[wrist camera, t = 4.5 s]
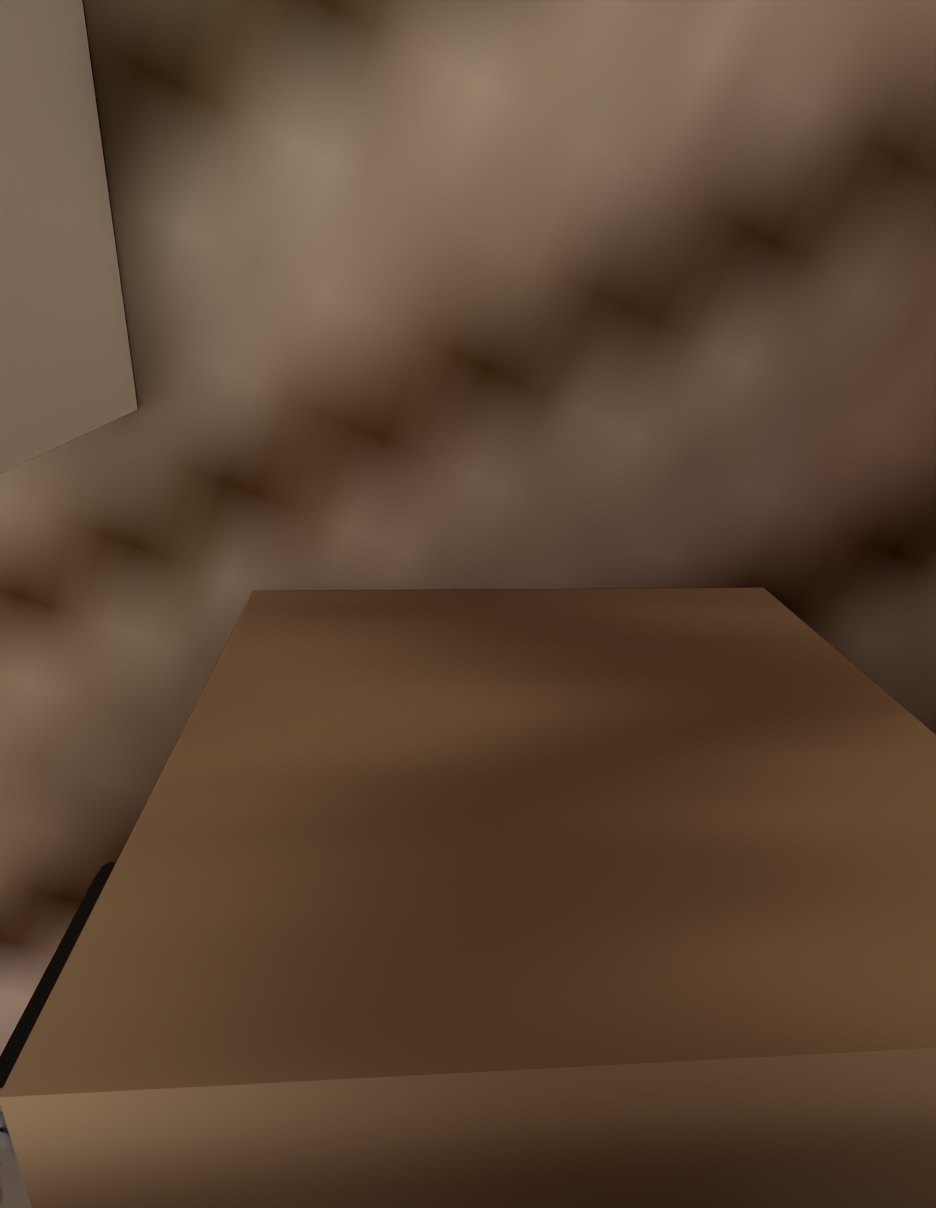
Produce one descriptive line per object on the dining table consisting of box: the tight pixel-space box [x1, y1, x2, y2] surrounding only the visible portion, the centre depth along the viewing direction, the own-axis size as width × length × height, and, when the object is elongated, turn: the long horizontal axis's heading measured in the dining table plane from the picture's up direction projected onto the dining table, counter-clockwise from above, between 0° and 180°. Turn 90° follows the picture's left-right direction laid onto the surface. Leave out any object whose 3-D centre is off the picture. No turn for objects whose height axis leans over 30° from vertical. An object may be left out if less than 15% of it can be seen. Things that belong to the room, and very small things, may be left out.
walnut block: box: [0, 587, 936, 1208], centre depth 7 cm, size 6×6×7 cm
